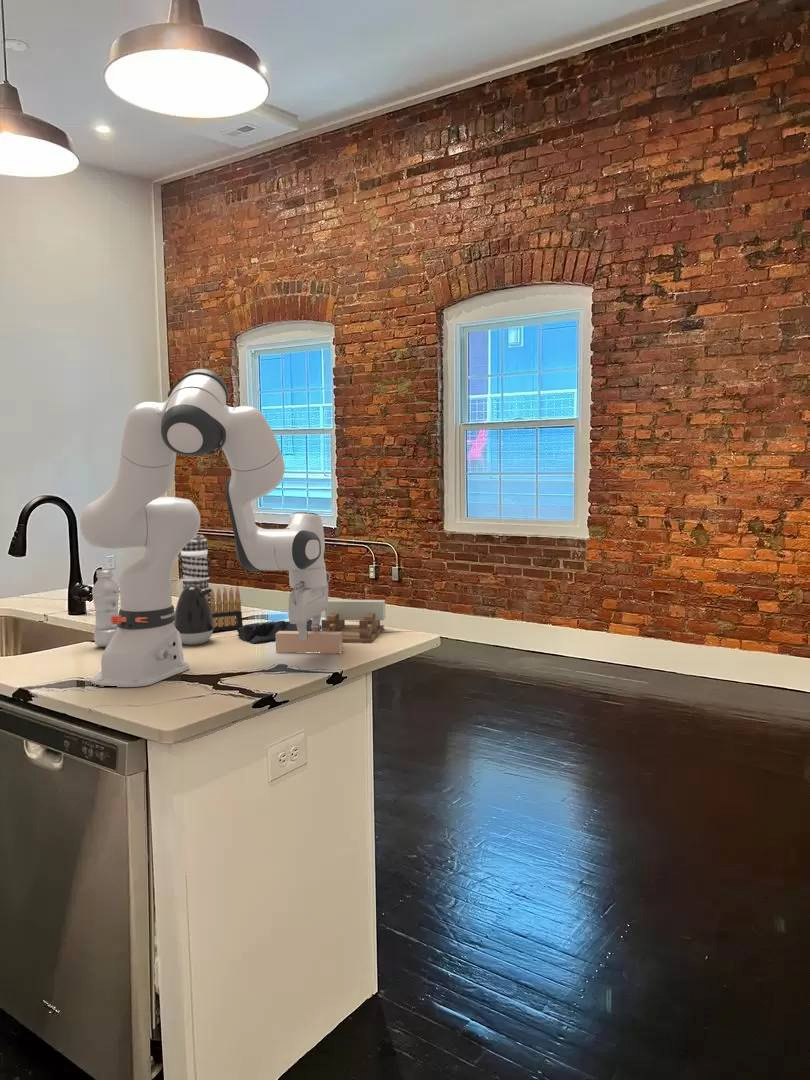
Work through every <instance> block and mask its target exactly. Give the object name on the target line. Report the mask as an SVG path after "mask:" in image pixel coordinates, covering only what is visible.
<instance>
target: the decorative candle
mask: <svg viewBox="0 0 810 1080" xmlns="http://www.w3.org/2000/svg"><path fill="white" fill-rule="evenodd" d="M207 541H208V539H207V538H206V536H205V535H203V534H196V536H195V537H194V538H193V539H192V540H191V541H190V542H189V543H187V544H186V545H185V547H184V548H183V549H182V550H181V552H180V553H179V555H178V558H179V559H178V562H180V564H179V568H180V571H179V573H180V574H181V575H182V576H180V577H181V578H180V579H181V581H182V587H183V588H182V591H183V590H184V588H186V587H187V586H190V585H195V586H198V587H200V588H201V589H202V591H203V590H205V589H209V588H210V587H209V584H210V583H209V580H210V578H211V574H209V573H210V572H211V570H210V569H209V568H208V567H210V566H211V563H210V560H211V558H210V557H208V554H209V549H208V548H207V547H208V545H207ZM208 602H209V605H210V593H208Z"/></svg>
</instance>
